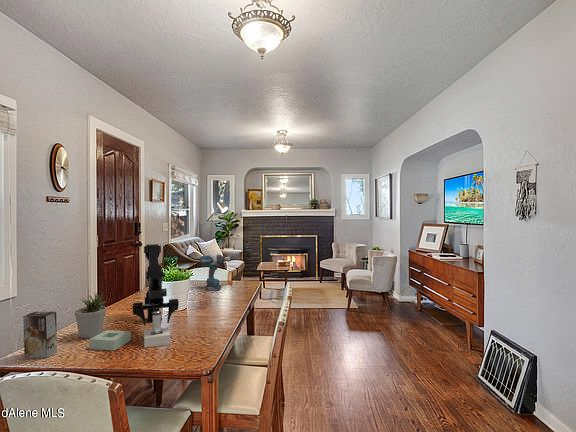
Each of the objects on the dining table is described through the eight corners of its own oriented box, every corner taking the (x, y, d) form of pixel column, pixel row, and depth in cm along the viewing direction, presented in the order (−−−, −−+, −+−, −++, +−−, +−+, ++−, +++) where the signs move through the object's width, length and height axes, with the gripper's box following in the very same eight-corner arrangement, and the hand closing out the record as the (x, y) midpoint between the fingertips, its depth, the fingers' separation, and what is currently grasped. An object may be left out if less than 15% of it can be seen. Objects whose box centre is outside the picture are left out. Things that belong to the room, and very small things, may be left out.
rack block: (107, 339, 154) (107, 330, 154) (130, 340, 152) (130, 331, 152) (89, 349, 143) (89, 339, 143) (114, 350, 141) (114, 340, 141)
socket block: (144, 339, 153) (144, 330, 153) (168, 336, 157) (168, 327, 157) (144, 347, 144) (144, 338, 144) (170, 344, 148) (170, 334, 148)
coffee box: (58, 351, 140) (57, 311, 140) (47, 358, 134) (46, 316, 134) (34, 351, 140) (34, 311, 140) (22, 358, 134) (22, 316, 134)
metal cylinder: (150, 342, 150) (150, 311, 150) (158, 339, 153) (158, 309, 153) (155, 344, 148) (154, 313, 148) (163, 341, 151) (162, 311, 151)
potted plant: (71, 342, 150) (71, 295, 149) (76, 332, 162) (76, 289, 162) (105, 338, 155) (104, 292, 154) (107, 329, 167) (107, 286, 167)
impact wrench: (230, 291, 246) (230, 255, 246) (198, 291, 246) (198, 255, 246) (232, 288, 254) (232, 253, 254) (201, 288, 254) (201, 253, 254)
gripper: (132, 284, 151) (132, 316, 141) (178, 280, 159) (180, 311, 148) (133, 298, 159) (132, 330, 149) (176, 294, 166) (179, 324, 156)
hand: (156, 324), depth 150 cm, fingers open, 9 cm apart
